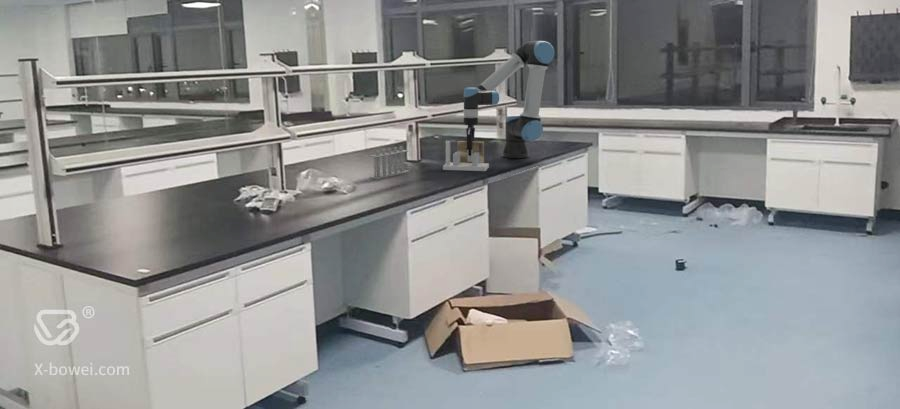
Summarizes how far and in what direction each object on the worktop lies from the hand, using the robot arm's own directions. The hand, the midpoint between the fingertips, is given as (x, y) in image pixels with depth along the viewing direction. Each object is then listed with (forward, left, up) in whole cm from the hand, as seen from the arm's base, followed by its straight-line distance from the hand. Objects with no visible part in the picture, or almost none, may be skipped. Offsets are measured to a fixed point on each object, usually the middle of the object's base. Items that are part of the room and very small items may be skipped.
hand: (470, 161), depth 405 cm
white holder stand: (+15, 0, -2) cm, 15 cm away
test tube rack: (+40, -34, -2) cm, 53 cm away
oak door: (0, 0, -2) cm, 2 cm away
